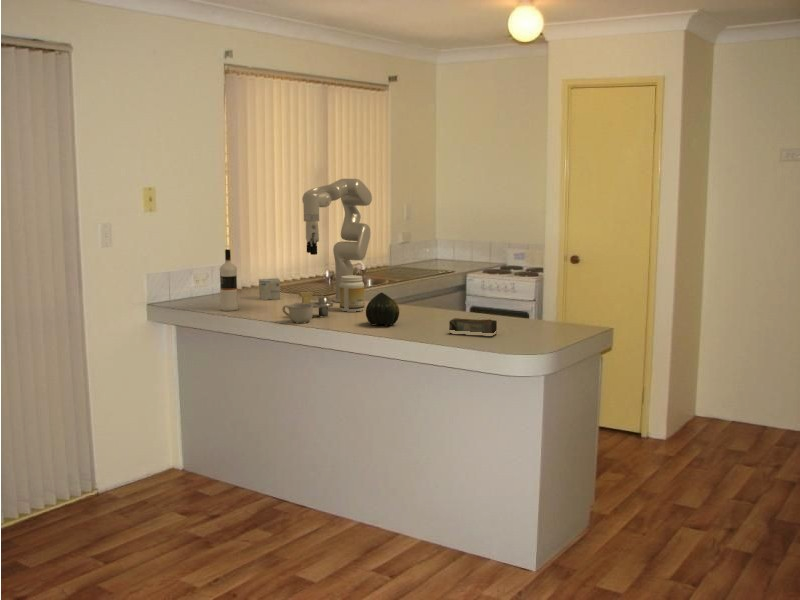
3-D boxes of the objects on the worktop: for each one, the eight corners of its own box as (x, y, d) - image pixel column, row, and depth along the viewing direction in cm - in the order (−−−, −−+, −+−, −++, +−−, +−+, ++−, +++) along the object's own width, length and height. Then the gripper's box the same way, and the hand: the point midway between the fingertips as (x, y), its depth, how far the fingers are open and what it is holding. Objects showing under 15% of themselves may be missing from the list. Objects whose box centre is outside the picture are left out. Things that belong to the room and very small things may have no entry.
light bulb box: (278, 297, 434) (278, 278, 432) (280, 299, 428) (280, 279, 426) (258, 298, 431) (258, 278, 429) (260, 300, 424) (260, 280, 423)
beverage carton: (453, 331, 346) (454, 316, 345) (497, 334, 339) (497, 319, 338) (448, 334, 338) (448, 319, 337) (492, 338, 332) (493, 322, 331)
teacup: (316, 320, 367) (316, 303, 366) (306, 325, 357) (306, 307, 356) (289, 318, 371) (289, 302, 370) (278, 323, 361) (278, 305, 360)
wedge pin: (311, 316, 379) (310, 291, 377) (312, 317, 376) (312, 292, 374) (300, 316, 377) (299, 292, 375) (301, 318, 374) (301, 293, 372)
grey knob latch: (330, 314, 384) (330, 295, 383) (334, 317, 375) (334, 298, 374) (294, 315, 379) (294, 297, 378) (298, 319, 370) (297, 300, 369)
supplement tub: (368, 309, 398) (368, 275, 395) (357, 313, 387) (357, 278, 384) (347, 307, 403) (346, 274, 400) (335, 311, 392) (334, 277, 389)
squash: (383, 317, 345) (395, 289, 352) (355, 315, 353) (367, 287, 360) (397, 335, 355) (408, 307, 362) (369, 332, 363) (381, 305, 370)
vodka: (237, 311, 391) (235, 250, 386) (218, 311, 390) (216, 250, 385) (240, 308, 400) (238, 248, 395) (221, 308, 399) (219, 248, 395)
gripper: (322, 219, 379) (323, 255, 382) (315, 217, 395) (316, 251, 398) (307, 219, 377) (307, 255, 379) (300, 217, 393) (301, 252, 396)
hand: (311, 253), depth 389 cm, fingers open, 9 cm apart
